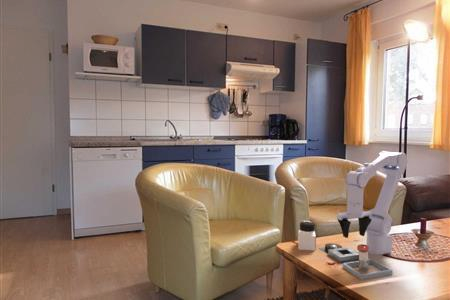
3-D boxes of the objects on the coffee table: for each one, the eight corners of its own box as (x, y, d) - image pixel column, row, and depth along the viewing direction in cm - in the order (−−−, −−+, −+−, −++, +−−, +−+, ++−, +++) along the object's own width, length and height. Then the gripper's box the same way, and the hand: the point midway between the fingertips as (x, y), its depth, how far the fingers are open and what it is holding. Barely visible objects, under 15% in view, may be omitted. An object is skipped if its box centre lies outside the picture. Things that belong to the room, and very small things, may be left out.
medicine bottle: (315, 252, 141) (316, 225, 140) (298, 251, 143) (298, 224, 142) (314, 246, 148) (315, 220, 147) (298, 245, 150) (298, 219, 149)
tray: (371, 265, 129) (372, 258, 129) (392, 276, 119) (392, 270, 119) (342, 269, 125) (342, 263, 125) (361, 282, 116) (361, 275, 115)
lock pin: (364, 266, 126) (363, 243, 125) (372, 270, 122) (371, 247, 121) (355, 268, 125) (354, 246, 124) (363, 273, 121) (362, 250, 120)
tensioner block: (338, 247, 147) (338, 241, 146) (363, 262, 131) (363, 255, 131) (318, 250, 144) (318, 243, 144) (341, 265, 129) (341, 258, 128)
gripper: (345, 205, 124) (344, 241, 125) (377, 203, 129) (376, 237, 130) (334, 201, 131) (333, 235, 132) (365, 199, 135) (363, 232, 136)
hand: (353, 236), depth 131 cm, fingers open, 7 cm apart
